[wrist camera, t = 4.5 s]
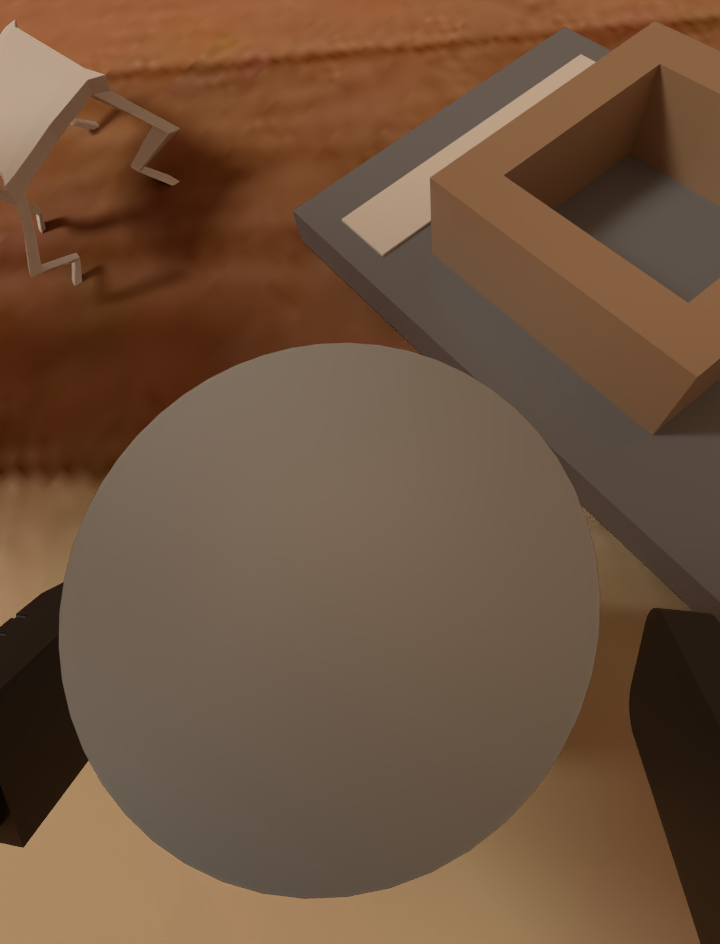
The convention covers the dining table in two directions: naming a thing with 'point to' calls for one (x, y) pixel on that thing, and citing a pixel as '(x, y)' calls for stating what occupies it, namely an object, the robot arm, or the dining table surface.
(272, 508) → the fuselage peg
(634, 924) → the dining table surface
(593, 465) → the assembly jig
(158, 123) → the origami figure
